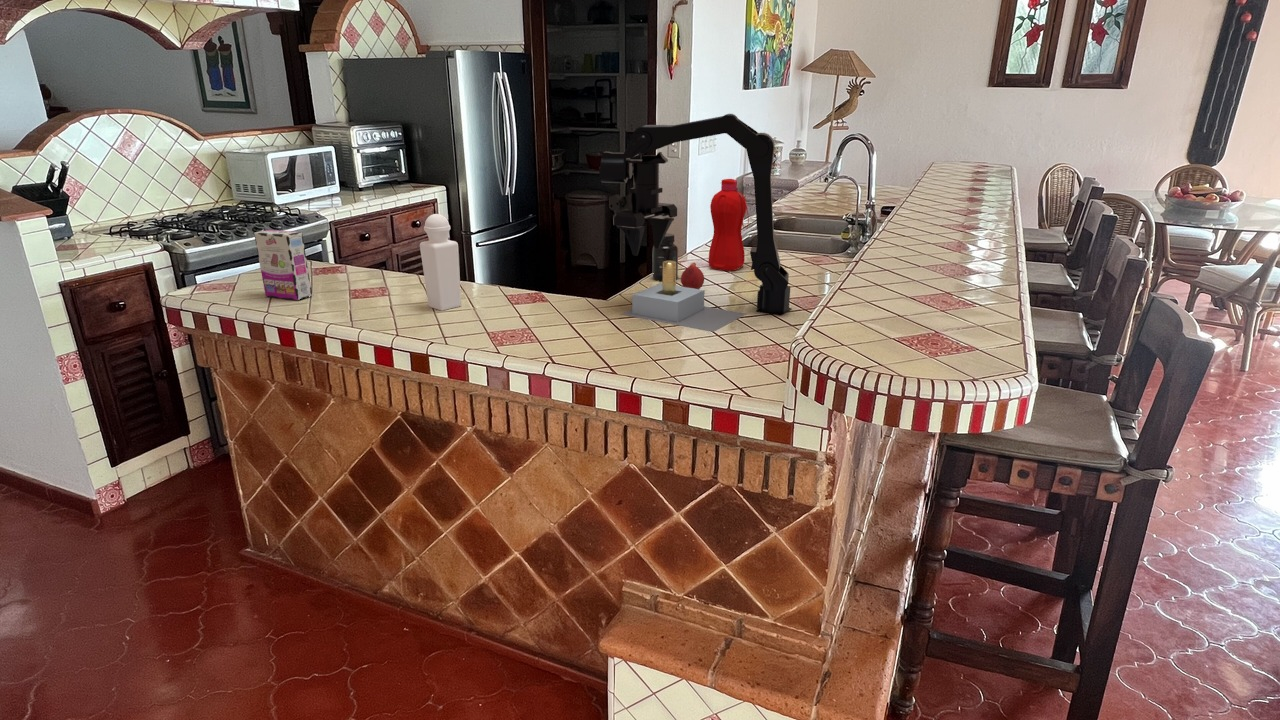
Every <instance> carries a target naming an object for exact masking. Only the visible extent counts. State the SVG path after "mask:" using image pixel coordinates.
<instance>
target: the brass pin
mask: <svg viewBox="0 0 1280 720" xmlns="http://www.w3.org/2000/svg"><path fill="white" fill-rule="evenodd" d="M676 282H677V279H676V262H675V261H664V262H663V281H662V284H663V288H662V294H664V295H670V296H673V295H675V294H676V286H677V285H676Z"/></svg>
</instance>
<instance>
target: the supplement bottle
mask: <svg viewBox="0 0 1280 720" xmlns="http://www.w3.org/2000/svg"><path fill="white" fill-rule="evenodd" d="M674 242H675V234H674V233H668V232H666V234H665V236H664V239H663V241H662V243H661V245H660V247H659V248H658V249H656V248H654V246H652V279H653V280H655V281H657V280H659V281H658V282H663V262H664V261H675V262H676V280H677V279H678V277H679V275H678V274H679V271H678V270H679V248H678V245H677V244H675V243H674ZM653 273H654V274H653Z"/></svg>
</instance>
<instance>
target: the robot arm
mask: <svg viewBox="0 0 1280 720" xmlns="http://www.w3.org/2000/svg"><path fill="white" fill-rule="evenodd" d="M723 134H726V135H728V136H729V137H730V138H732V139H733V140H734V141H735V142H736V143H738V144H739V146H741V147H742V148H744V149H745V150H746V153H747V154H746V155H747V157H748V158H747V159H748V162H749V167H750V170H751V173H752V177H753V185H754V187H753V188H754V201H755V202H754V203H755V205H754V206H755V219H756V222H755V223H756V235H757V236H756V237H757V243H756V246H751V247H750V252H749V254H750V258H751V266H750V270H751V271H753V273H754V276H755V278H756V279H757V280H759V281H760V282H761V284H760V285H759V290H757V296H756V297H757V299H756V300H757V301H756V307H757V308H756V309H755V312H757V313H761V314H762V313H763V314H769V315H774V316H780V317H781V316H783V315H785V314H786V313H788V312H790V311H791V310H792V309H793V308H792V307H790V298H791V285H789V277H790V274H789V272H788V271H787V270H786V269H785V268H784V267H783V266H782V265H781V259H780V254H779V250H778V247H777V243H776V240H775V230H774V213H773V211H774V210H773V193H772V191H773V190H772V169H773V162H774V155H775V147H776V146H775V145H776V144H775V141H774V138H773V137H772V136H771V135H770V134H768V133H766V132H758V131H756V130H755V128H752V127H751V126H749V124H746V122H744V121H742V120H741V119H739V118H738V116H737V115H736V114H734V113H727V114H723V115H722V116H715V117H711V118H707V119H706V118H705V119H699V120H696V121H691V122H689V121H688V122H684V123H678V124H646V125H641V126H639V127H637V128H636V129H634V130H633V132H632V135H631V136H630V137H631V139H630V140H631V141H630V142H631V143H629V145H628V146H627V148H626V149H625V150H624V151H623V152H612V151H603V152H602V153H601V160H600V163H599V165H600V166H599V168H598V170H599V171H598V173H599V174H598V175H599V180H600V182H601V183H604V184H612V183H613V184H627V182H628V180H629V179H632V176H633V187H631V188H629V189H628V195H625V196H620V194H617V193H616V194H614V195H613V194H612V195H611V196H609V198H608V199H609V200H608V208H609V209H610V210H611V211H613V212H614V215H613V216H612V220H613V221H612V222H613V223H612V224H613V226H616V227H617V228H618V230H619V229H620V230H621V231H622V232H623V233H624V234H625V237H626V239H627V241H628V244H629V247H630V251H631V253H632V255H633V256H636V257H637V256H639V252H640V249H641V247H642V246H641V245H642V242H643V241H642V240H643V237H644V233H645V229H646V226H644V224H645V222H646V220H648V221H649V223H650V224H651V227H652V239H653V247H654V248H656V249H658V248H659V247H660V245H661V243H662V241H663V239H664V236H665V234H666V233H668V231H669V228H670V227H671V225H672V223H673V222H674V220H675V217H678V207H677V206H676V205H675V204H674V203H666V202H664V203H663V202H659V201H660V193H663V187H660V181H659V180H660V164H666V163H668V162H669V159H668V158H666V156H665V155H663V152H662V151H659V152H657V154H655V155H653V154H648V153H652V152H654V151H656V150H659V149H661V148H665V147H666V146H669V145H672V144H674V143H680V142H685V141H690V140H696V139H701V138H707V137H713V136H718V135H723ZM641 154H645V155H643V156H642V158H641V159H633V158H635V157H637V156H639V155H641ZM647 154H648V155H647Z"/></svg>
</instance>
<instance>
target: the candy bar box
mask: <svg viewBox="0 0 1280 720" xmlns="http://www.w3.org/2000/svg"><path fill="white" fill-rule="evenodd" d="M253 233H254V240H255V245H256V250H257V255H258V261H259V266H260V267H259V268H260V272H261V278H262V282H263V283H262V285H263V289H264V295H265V297H266V296H270V297H269V298H272V297H278V298H277V299H280V298H284V299H283V300H289V299H292V300H291V301H297V300H299V301H301V300H300V299H302V300H304V299H303V298H305V299H307V298H306V297H309V296H311V295H312V296H313V292H312V286H311V280H310V273H309V266H308V261H307V255H306V248H305V243H304V236H303V232H302V231H293V230H281V229H280V230H277V229H266V230H265V229H264V230H259V231H256V232H253ZM312 296H311V297H312ZM309 298H310V297H309Z"/></svg>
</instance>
